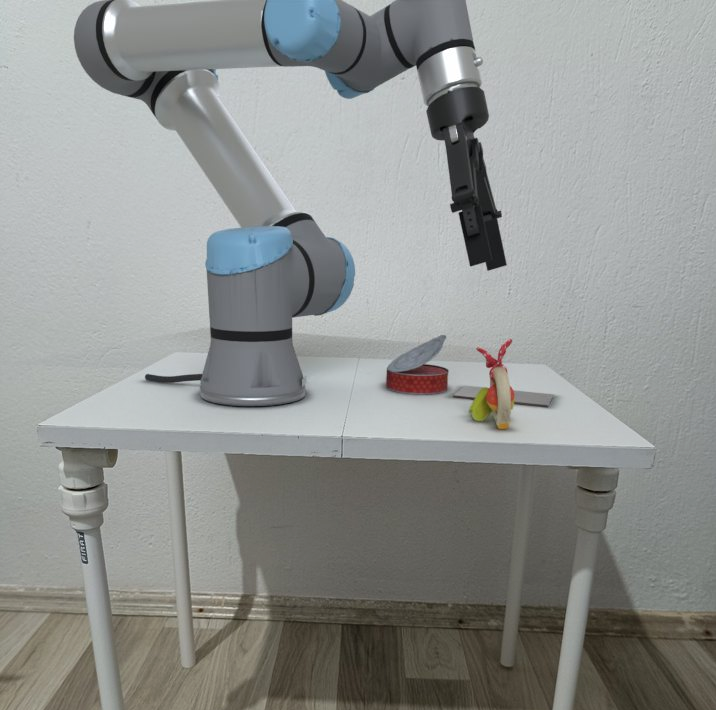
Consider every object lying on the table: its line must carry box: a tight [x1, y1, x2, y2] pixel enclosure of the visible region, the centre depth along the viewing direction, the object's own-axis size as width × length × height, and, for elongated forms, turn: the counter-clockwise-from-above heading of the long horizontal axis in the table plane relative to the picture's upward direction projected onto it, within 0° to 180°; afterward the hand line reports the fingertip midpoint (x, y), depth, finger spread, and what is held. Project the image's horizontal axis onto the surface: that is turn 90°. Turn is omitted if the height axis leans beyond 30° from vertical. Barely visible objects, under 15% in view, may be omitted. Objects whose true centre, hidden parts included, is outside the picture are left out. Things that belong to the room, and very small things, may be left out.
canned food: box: [385, 334, 450, 395], centre depth 105 cm, size 11×10×10 cm
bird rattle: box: [468, 338, 515, 430], centre depth 84 cm, size 6×11×9 cm
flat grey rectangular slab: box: [452, 385, 555, 408], centre depth 101 cm, size 14×8×1 cm, turn 68°
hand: (489, 266), depth 88 cm, fingers open, 13 cm apart
